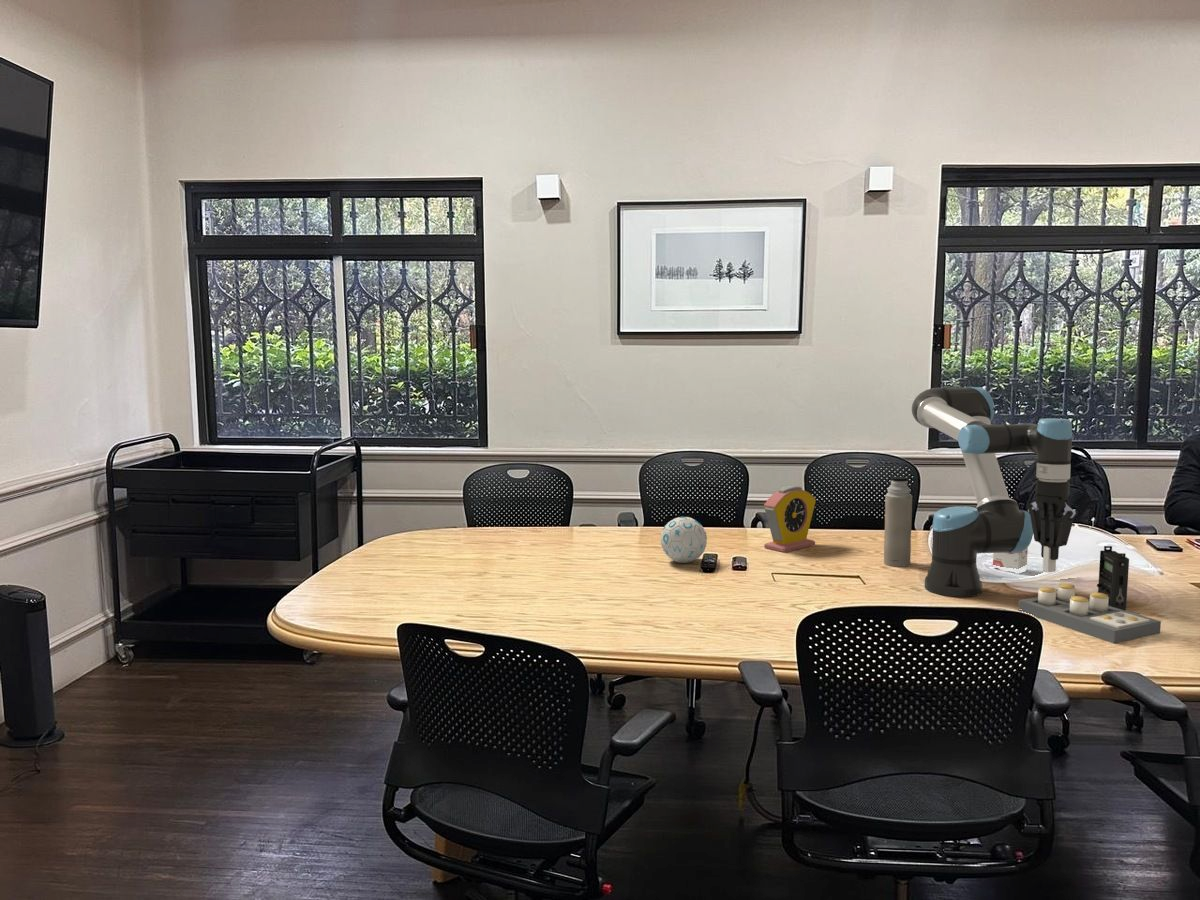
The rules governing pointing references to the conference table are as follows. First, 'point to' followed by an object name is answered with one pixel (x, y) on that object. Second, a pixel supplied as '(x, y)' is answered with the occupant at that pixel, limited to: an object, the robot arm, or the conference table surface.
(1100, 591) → the geiger counter
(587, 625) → the conference table surface
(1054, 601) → the button
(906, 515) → the thermos bottle
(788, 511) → the yellow mantel clock
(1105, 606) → the yellow topped white button
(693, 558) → the puzzle ball
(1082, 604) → the white jar yellow lid
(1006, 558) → the ink cartridge box
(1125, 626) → the button board
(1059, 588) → the button
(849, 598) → the conference table surface
